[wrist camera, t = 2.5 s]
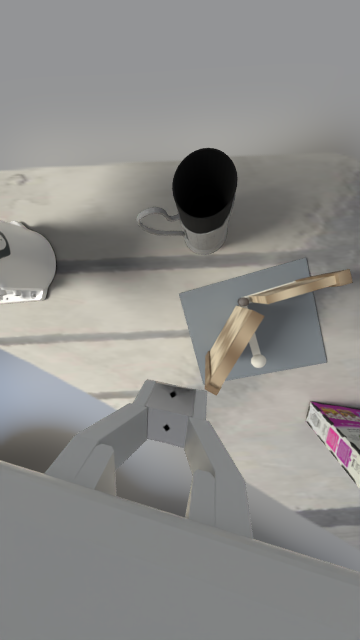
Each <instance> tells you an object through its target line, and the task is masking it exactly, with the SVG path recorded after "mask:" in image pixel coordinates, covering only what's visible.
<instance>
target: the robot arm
mask: <svg viewBox="0 0 360 640" xmlns="http://www.w3.org/2000/svg"><path fill="white" fill-rule="evenodd" d="M55 270H56V259H55V254H54V251H53V249H52V247H51V245H50V243H49V242H48V241H47V240H46V238H45V237H43V236H42V235H41V234H39V233H37V232H35V231H32V230H29V229H27V228H26V227H25V226H24V225H23V224H22V223H20V222H17V221H12V222H10V223H8V222H5V221H1V220H0V304H6V303H18V302H30V301H41V300H44V299H45V298H46V295H47V289H48V287H49V285H50V283H51V282H52V280H53V278H54V275H55ZM206 405H207V391H204V390H198V389H192V388H187V387H181V386H176V385H172V384H167V383H163V382H159V381H153V380H149V379H147V380H146V381H145V382H144V384H143V386H142V388H141V389H140V391H139V393H138V395H137V397H136V398H135V400H134V402H133V404H130V403H129V404H127V405H125V406H124V407H122V408H120V409H119V410H117V411H115V412H114V413H112V414H110V415H108V416H107V417H105V418H103V419H102V420H100V421H98V422H97V423H95V424H93V425H92V426H90V427H88V428H86V429H85V430H83V431H81V432H79V433H78V434H76V435H75V436H74V437H73V438H72V440H71V441H70V442H69V443H68V445H67V446H66V447H65V449H64V450H63V451H62V452H61V453H60V455H59V456H58V457H57V459H56V460H55V461H54V462H53V464H52V465H51V466H50V467H49V469H48V470H47V471H46V472H45V474H43V473H39V472H36V471H33V470H30V469H27V468H23V467H20V466H17V465H14V464H10V463H7V462H4V461H1V460H0V640H360V572H357V571H354V570H351V569H348V568H345V567H342V566H338V565H335V564H332V563H328V562H325V561H322V560H319V559H315V558H312V557H309V556H306V555H303V554H300V553H296V552H293V551H290V550H287V549H284V548H280V547H277V546H274V545H270V544H268V543H264V542H261V541H258V540H255V539H253V533H252V526H251V519H250V512H249V505H248V498H247V492H246V484H245V480H244V478H243V477H242V475H241V473H240V472H239V470H238V468H237V467H236V465H235V463H234V462H233V460H232V458H231V457H230V455H229V453H228V452H227V450H226V448H225V447H224V445H223V443H222V442H221V440H220V438H219V437H218V435H217V433H216V432H215V430H214V428H213V427H212V425H211V424H210V422H209V421H206ZM147 439H150V440H155V441H159V442H164V443H168V444H171V445H175V446H178V447H182V448H184V451H185V454H186V457H187V460H188V463H189V466H190V469H191V472H192V475H193V478H192V484H191V489H190V494H189V499H188V505H187V510H186V516H185V518H184V517H181V516H178V515H174V514H171V513H168V512H165V511H162V510H159V509H155V508H152V507H149V506H146V505H143V504H139V503H136V502H133V501H130V500H126V499H123V498H120V497H117V496H116V479H115V470H116V469H117V468H119V466H120V465H122V463H124V461H125V460H126V459H128V458H129V457H130V456H131V455H132V454H133V453H134V452H135V451H136V450H137V449H138V448H139V447H140V446H141V445H142V444H143V443H144V442H145V441H146V440H147Z"/></svg>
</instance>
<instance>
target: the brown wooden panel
mask: <svg viewBox="0 0 360 640" xmlns="http://www.w3.org/2000/svg"><path fill="white" fill-rule="evenodd" d="M264 317H265V316H263V315H261V314H259V313H257V312H255V311H253V310H249V309H246V308H243V307H239V306H236V307H235V308H234V310H233V312H232V314H231V315H230V317H229V319H228V320H227V322H226V324H225V326H224V327H223V329H222V331H221V333H220V334H219V336H218V338H217V340H216V341H215V343H214V345H213V346H212V348H211V350H210V351H208V352H207V354H206V356H205V389H206V390H207V391H209V392H211V393H213V394H215V395H217V394H218V392H219V391H220V389H221V386H222V384H223V383H224V381H225V379H226V378H227V376H228V375H229V373H230V371H231V370H232V368H233V367H234V365H235V363H236V362H237V360H238V358H239V357H240V355H241V354H242V352H243V350H244V349H245V347H246V346H247V344H248V342H249V341H250V339H251V337H252V336H253V334H254V333H255V331H256V329H257V328H258V326H259V325H260V323H261V321H262V320H263V318H264Z"/></svg>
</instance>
